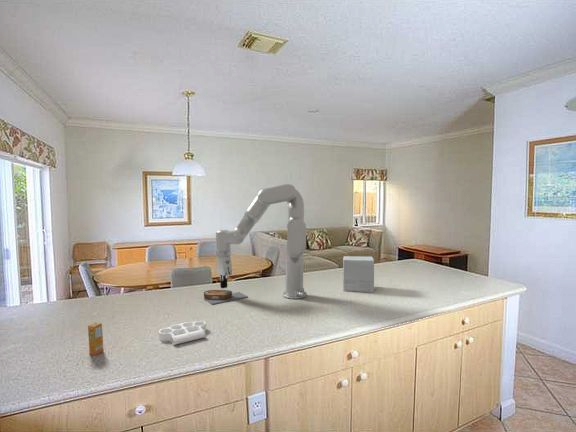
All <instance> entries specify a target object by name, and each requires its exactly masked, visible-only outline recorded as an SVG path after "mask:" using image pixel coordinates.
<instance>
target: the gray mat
mask: <svg viewBox="0 0 576 432" xmlns="http://www.w3.org/2000/svg"><path fill="white" fill-rule="evenodd" d="M247 298H249V297H248V295H247V294H244V293H242V292H240V291H239V292H232V297H231V298H229V299H205V298H204V301H206V302H207V303H208V304H210V305H213V306H214V305H219V304H223V303H227V302H233V301H237V300H242V299H247Z"/></svg>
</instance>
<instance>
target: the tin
mask: <svg viewBox="0 0 576 432" xmlns="http://www.w3.org/2000/svg"><path fill="white" fill-rule="evenodd" d="M232 293H233V291H232V290H226V289H224V290H223V289H210V290H209V289H208V290H205V291H203V299H204V300H205V299H229V298H231V297H232Z"/></svg>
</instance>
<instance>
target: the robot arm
mask: <svg viewBox="0 0 576 432" xmlns="http://www.w3.org/2000/svg"><path fill="white" fill-rule="evenodd" d="M255 196H256V197H255V198H254V199H253V200H252V202H251V203H250V205H249V206H248V208H247V209H246V211H245V212H244V214H243V216H242V218H241V220H240V221H239V223H238V224H237V225H236V226H235V228H234V230H228V229H218V230H217V231H216V232H215V256H216V273H217V274H218V276H219V280H220V289H227V288H228V279H229V278H230V276H232V275H233V266H232V257H231V256H232V255H231V253H232V252H231V249H232V248H231V245H241V244H242V243H243V242H244V241H245V240H246V237H247V236H248V235H249V233H250V232H251V230H252V229H253V228H254V227H255V225H256V224H257V223H258V222H259V221H260V220H261V219H262V217H263V215H264V214H265V213H266V212H267V210H268V208H269V207H270V206H271V205H274V204H280V203H283V202H286V204H287V221H286V222H287V224H286V228H287V233H286V234H287V236H286V237H287V239H286V242H285V245H284V252H285V291H284V292H283V293H282V296H283V298H287V299H292V300H298V299H303V298H305V297H307V292H306V291H305V288H304V254H305V251H306V246H307V245H306V242H307V224H306V222H305V219H304V218H305V203H304V199H303V196H302V194H301V193H300V192H299V190H298V189H296V187H295V186H294V185H293V184H290V183H285V184H281V185H277V186H271V187H266V188H261V189H260V190H259V191H258V194H257V195H255Z"/></svg>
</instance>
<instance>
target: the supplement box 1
mask: <svg viewBox="0 0 576 432" xmlns="http://www.w3.org/2000/svg"><path fill="white" fill-rule="evenodd" d="M87 332H88V335H87V336H88V346H89V347H88V349H89V350H88V351H89V353H88V354H90V355H94V356H97V355H99V354H101V353H103V352H104V336H103V335H104V334H103V323H102V322H100V323H99V322H93V323H91V324H88V325H87Z"/></svg>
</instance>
